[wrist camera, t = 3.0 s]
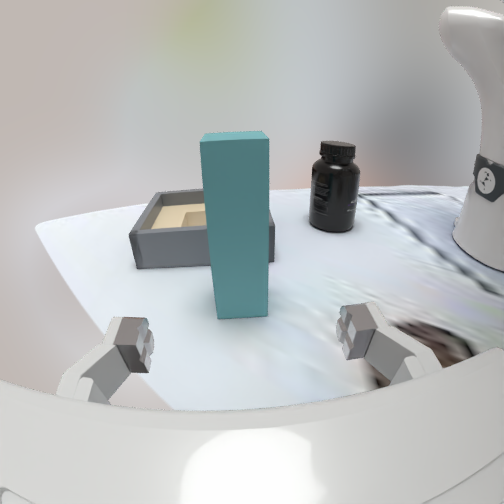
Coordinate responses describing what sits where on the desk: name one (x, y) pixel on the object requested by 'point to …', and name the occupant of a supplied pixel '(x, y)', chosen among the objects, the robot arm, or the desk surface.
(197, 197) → the open box
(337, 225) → the supplement bottle
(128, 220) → the desk surface
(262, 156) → the peg
